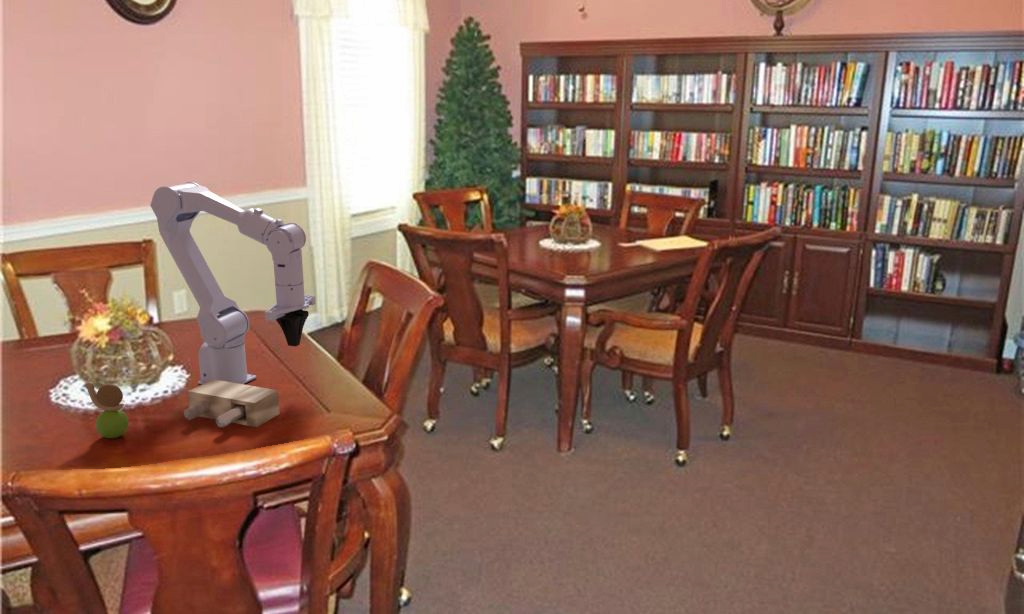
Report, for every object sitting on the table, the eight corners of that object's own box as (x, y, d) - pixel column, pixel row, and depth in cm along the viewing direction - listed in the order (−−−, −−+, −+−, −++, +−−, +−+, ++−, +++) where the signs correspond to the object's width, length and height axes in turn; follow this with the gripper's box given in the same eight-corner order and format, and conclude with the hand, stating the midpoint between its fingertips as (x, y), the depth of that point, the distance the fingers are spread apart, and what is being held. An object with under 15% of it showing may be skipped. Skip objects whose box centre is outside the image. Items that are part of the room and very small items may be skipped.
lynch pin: (212, 430, 146) (210, 410, 145) (258, 405, 157) (256, 386, 156) (230, 433, 144) (228, 413, 143) (274, 408, 156) (272, 389, 155)
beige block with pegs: (173, 423, 150) (170, 399, 148) (218, 400, 161) (216, 377, 160) (240, 436, 144) (238, 411, 143) (282, 411, 155) (281, 388, 154)
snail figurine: (99, 431, 146) (91, 371, 143) (135, 430, 147) (127, 370, 143) (86, 443, 141) (77, 381, 138) (123, 442, 141) (115, 381, 138)
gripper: (283, 292, 153) (288, 357, 157) (325, 277, 166) (329, 337, 170) (254, 289, 156) (259, 353, 159) (298, 274, 169) (302, 333, 172)
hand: (293, 345), depth 165 cm, fingers closed
